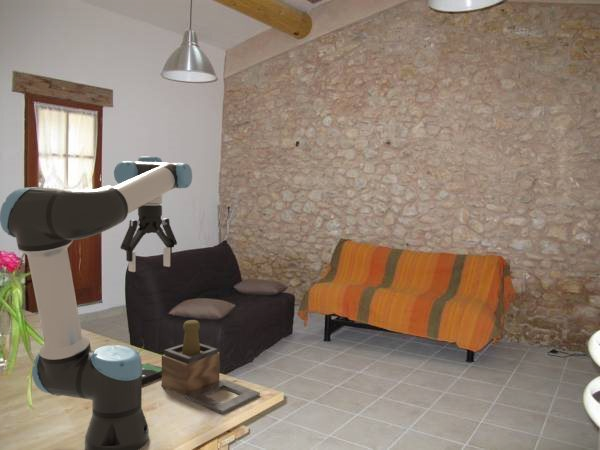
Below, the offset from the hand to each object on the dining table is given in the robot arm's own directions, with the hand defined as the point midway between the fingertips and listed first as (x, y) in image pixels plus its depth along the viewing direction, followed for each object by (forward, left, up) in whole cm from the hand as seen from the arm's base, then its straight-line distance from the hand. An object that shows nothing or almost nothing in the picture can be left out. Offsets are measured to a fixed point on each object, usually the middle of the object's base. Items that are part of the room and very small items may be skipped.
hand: (149, 268), depth 162 cm
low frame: (+5, -30, -37) cm, 48 cm away
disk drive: (-3, +1, -38) cm, 38 cm away
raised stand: (+5, -15, -37) cm, 40 cm away
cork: (+5, -15, -27) cm, 31 cm away
